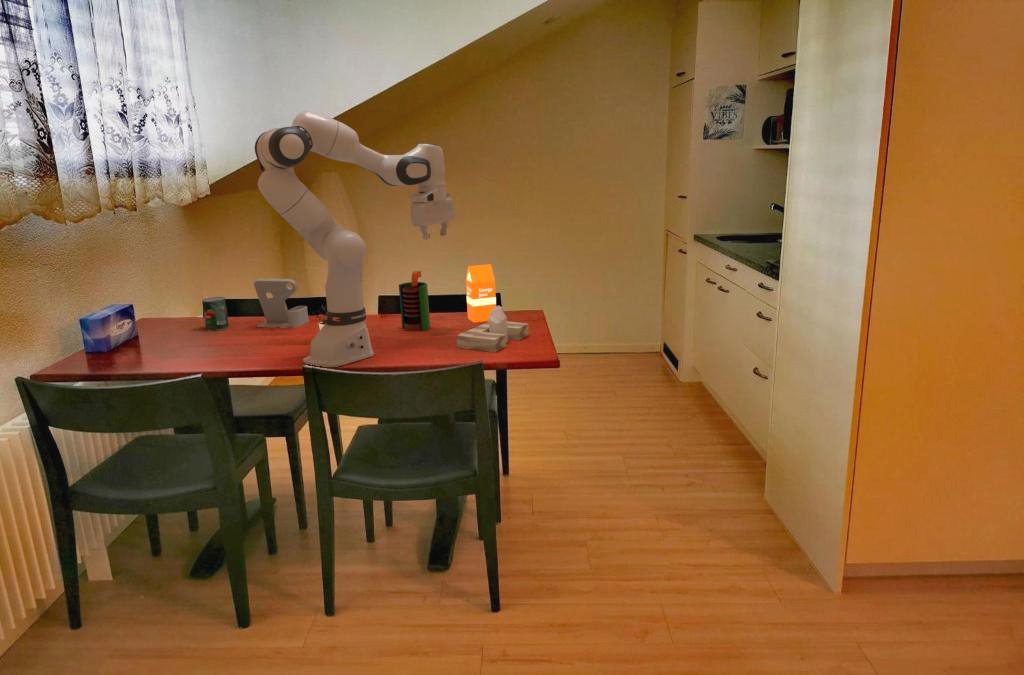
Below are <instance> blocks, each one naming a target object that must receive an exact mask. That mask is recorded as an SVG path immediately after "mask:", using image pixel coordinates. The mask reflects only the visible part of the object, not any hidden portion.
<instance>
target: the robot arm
mask: <svg viewBox="0 0 1024 675" xmlns="http://www.w3.org/2000/svg"><path fill="white" fill-rule="evenodd" d="M291 123H292V124H291V126H283V127H275V128H272V129H269V130H267V131H265V132H262V133H261V134H260V135H259V136H258V137H257V138H256V140H255V144H254V153H255V157H256V158H257V162H258V165H259V168H260V169H261V171H262V173H261V174H260V176H259V178H258V181H257V187H258V190H259V192H260V193H261V195H262V196H263V197H264V199H265V200H266V201H267V202H268V204H270V206H271V207H272V208H273V209H274V210H275V211H276V212H277V214H279V215H280V216H281V217H282V218H283V219H284V220H285V221H286V222H287V223H288V224H290V226H291V227H292V228H293V229H294V230H295V231H296V232H297V233H298V234H299V235H300V236H301V237H302V238H303V239H304V240H305V242H306V243H307V244H308V245H309V246H310V247H311V248H312V250H313V251H314V252H315V253H316V254H317V255H318V256H319V257H320V258H321V259H322V260H324V261H325V262H327V278H326V282H325V286H324V288H325V290H324V291H325V297H326V298H325V299H326V306H327V307H326V308H327V310H325V314H318V315H317V320H318V321H320V322H324V324H323V326H322V327H321V328H320V330H319V331H318V333H317V334H316V335H315V336H314V337H313V339H312V340H311V342H310V345H309V346H310V347H309V348H310V349H309V355H308V356H306V357H304V358H302V363H303V364H305V363H306V365H308V364H310V365H309V366H312V365H315V366H314V367H319V366H322V367H321V368H337V367H341V366H345V365H347V364H350V363H353V362H357V361H361V360H364V359H367V358H371V357H374V356H375V352H374V350H373V347H372V343H371V339H370V333H369V329H368V326H367V322H366V320H367V312H366V308H365V306H364V294H363V292H364V291H363V274H364V273H363V272H364V265H365V264H364V263H365V259H366V257H367V253H368V248H367V244H366V242H365V241H364V240H363V238H362V236H360V235H359V234H358V233H356V232H354V231H352V230H348V229H345V228H344V227H343V226H341V225H340V224H339V223H338V221H337V220H336V219H335V218H334V217H333V215H332V214H331V212H330V211H329V210H328V208H327V207H326V206H325V205H324V203H322V201H321V200H320V199H318V197H317V196H316V195H315V194H314V193H313V192H312V191H311V190H310V189H309V188H308V187H307V186H306V185H305V184H304V183H303V182H302V181H301V180H299V178H298V176H297V174H296V173H295V169H294V167H296V166H298V165H300V164H301V163H303V161H304V160H305V159H306V158H307V156H308V154H309V152H314V153H316V154H318V155H320V156H323V157H325V158H327V159H331V160H334V161H338V162H342V163H351V164H354V165H355V166H356V165H357V166H359V167H361V168H363V169H364V170H365V169H366V170H368V171H370V172H371V173H374V174H375V175H376V176H378V178H379V179H380V180H381V181H382V182H383V183H384V184H386V185H388V186H391V187H398V186H399V187H400V186H401V187H412V186H416V185H418V189H417V190H416V191H415V192H413V193H412V194H410V195H409V202H410V221H411V225H412V226H413V227H417V228H418V227H419V229H420V232H421V233H422V238H423V240H430V239H431V233H429V231H428V229H429V226H431V225H436V224H440V225H441V229H440V230H439V235H440V237H445V236H447V235H448V234H447V233H448V231H447V230H448V228H449V222H452V221H455V219H456V208H455V203H454V200H453V199H452V198H453V197H452V196H451V194H450V193H449V192H447V182H446V180H445V173H446V166H445V164H446V163H445V157H444V156H445V155H444V152H443V149H442V147H441V146H440V145H438V144H436V143H432V142H431V143H430V142H429V143H427V142H420V143H418V144H417V146H415V147H414V148H413V149H411V150H409V151H408V152H406V153H404V154H382V153H380V152H378V151H375V150H374V149H371V148H369V147H367V146H365V145H363V144H361V142H360V139H359V135H358V133H357V131H356V130H354V129H353V128H352V127H350V126H348V125H347V124H345V123H343V122H341V121H339V120H336V119H334V118H332V117H329V116H326V115H324V114H320V113H317V112H312V111H308V110H307V111H306V110H305V111H302V112H299V113H298V114H297V115H296V116H295V118H294V119H293V121H292V122H291Z"/></svg>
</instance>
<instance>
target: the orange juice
mask: <svg viewBox="0 0 1024 675" xmlns="http://www.w3.org/2000/svg"><path fill="white" fill-rule="evenodd" d="M494 275H495V274H494V272H493V266H492V264H491V263H489V264H479V265H468V268H467V272H466V278H465V287H466V306H467V308H466V309H467V319H468V320H470V321H471V322H472V323H481V322H489V315H490V313H491V312H492V310H493V309H494V308H495V307H497V296H496V280H495V276H494Z"/></svg>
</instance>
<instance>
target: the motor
mask: <svg viewBox="0 0 1024 675" xmlns="http://www.w3.org/2000/svg"><path fill="white" fill-rule="evenodd" d="M419 278H422V271H421V270H414V271H412V273H411V281H410V282H404V283H400V284H398V294H399V304H400V305H399V306H400V315H401V316H400V317H401V318H400V319H401V327H402V329H404V330H405V331H408V332H418V331H422V332H423V331H427V330H429V329H430V328H431V319H430V318H431V317H430V307H429V292H428V290H429V288H428V283H427V282H424V281H418V280H419Z"/></svg>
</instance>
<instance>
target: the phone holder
mask: <svg viewBox="0 0 1024 675" xmlns="http://www.w3.org/2000/svg"><path fill="white" fill-rule="evenodd" d="M288 284H290V285H292V287H289V286H288ZM253 286H254V289H255V292H256V295H257V299H258V300H259V304H260V306H261V309H262V313H263V315H264V318H265V321H263V322H260V323H258V324H257V325H256V327H257V328H258V327H300V326H301V325H303V324H305V323H307V322H309V321H310V320H309V314H308V306H307V305H297V306H295V307H292V308H290V309H288V306H287V303H286V300H287V299H289V298H290V297H291V296H292V295H294V294H295V293H296V291H297V290H298V289H299V288H298V286H299V285H298V283H297V282H296V280H295V279H291V278H257V279H256V280H254V283H253ZM267 293H269V294H271V295H272V298H269V297H268V295H267ZM300 328H301V327H300Z"/></svg>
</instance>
